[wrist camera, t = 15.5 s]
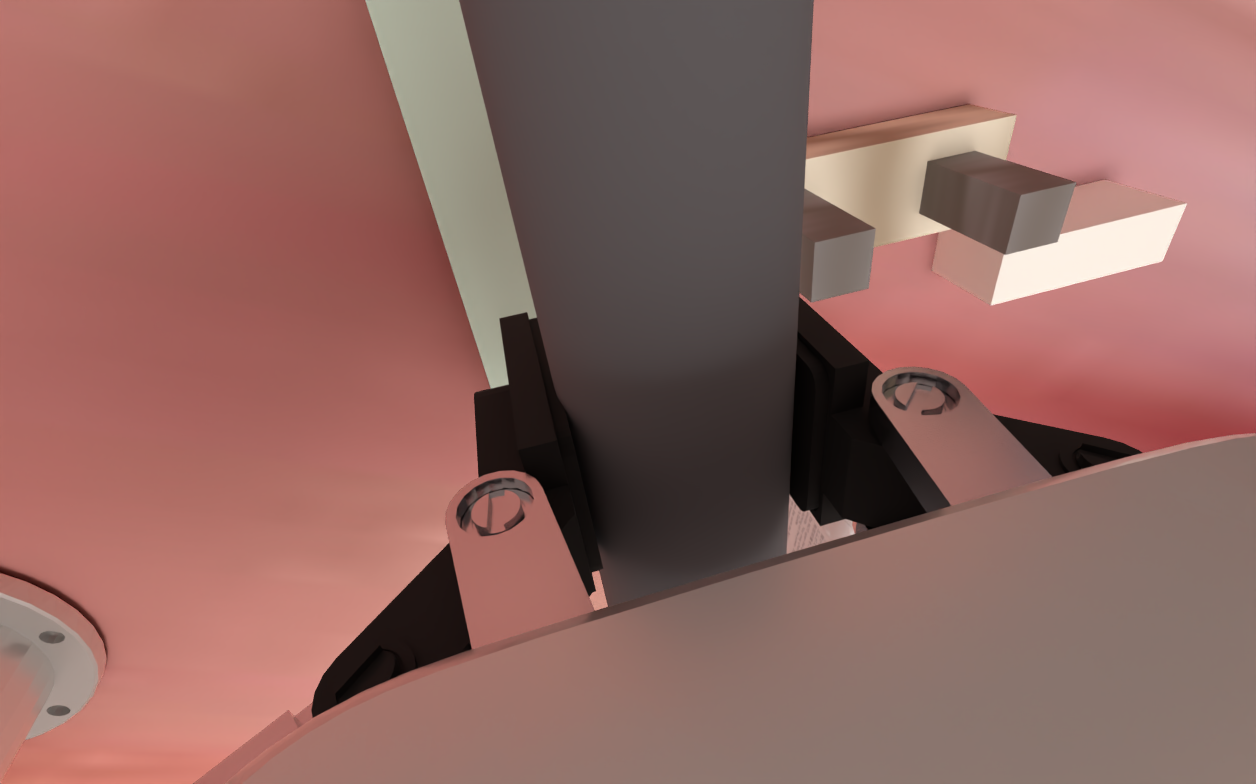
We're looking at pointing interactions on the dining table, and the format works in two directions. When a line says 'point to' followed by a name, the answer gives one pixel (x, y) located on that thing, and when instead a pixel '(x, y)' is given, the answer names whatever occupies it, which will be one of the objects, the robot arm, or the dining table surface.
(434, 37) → the mat
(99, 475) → the dining table surface
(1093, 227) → the beige rectangular block
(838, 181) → the clamp board
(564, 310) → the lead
